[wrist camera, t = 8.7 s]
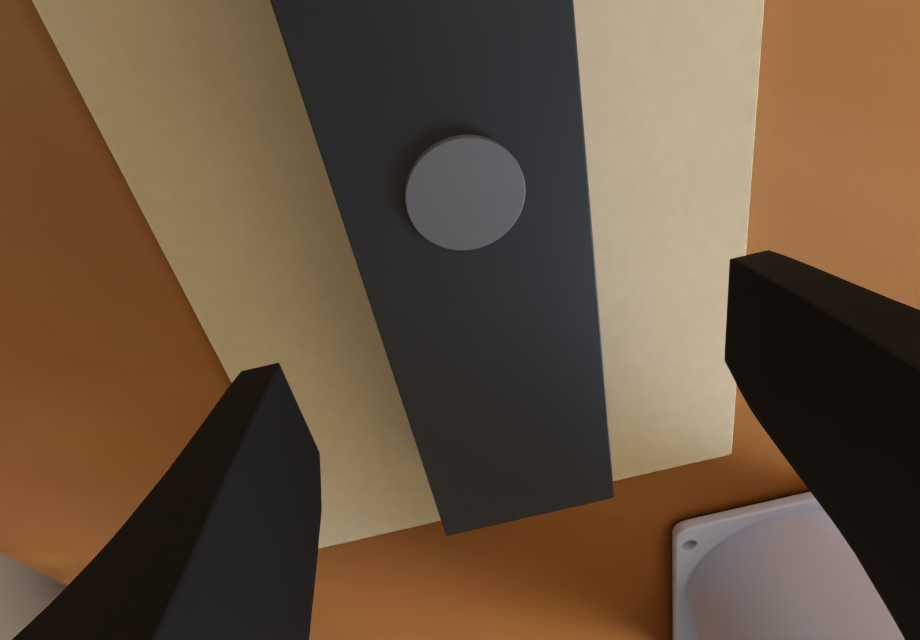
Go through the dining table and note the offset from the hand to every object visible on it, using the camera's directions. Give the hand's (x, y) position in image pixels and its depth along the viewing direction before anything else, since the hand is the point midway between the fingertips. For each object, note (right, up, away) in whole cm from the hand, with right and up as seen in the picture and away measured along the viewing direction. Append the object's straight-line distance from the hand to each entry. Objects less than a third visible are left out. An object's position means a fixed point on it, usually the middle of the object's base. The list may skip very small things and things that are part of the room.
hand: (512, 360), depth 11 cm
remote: (-1, +3, +5) cm, 6 cm away
